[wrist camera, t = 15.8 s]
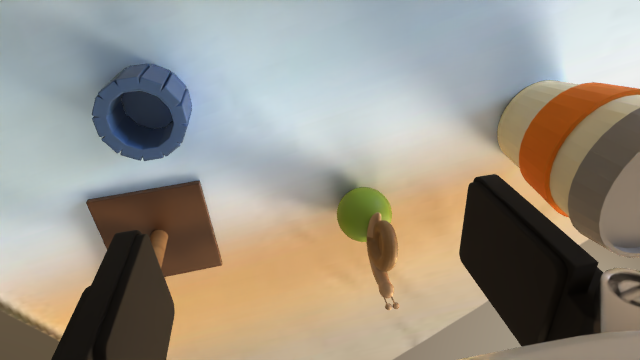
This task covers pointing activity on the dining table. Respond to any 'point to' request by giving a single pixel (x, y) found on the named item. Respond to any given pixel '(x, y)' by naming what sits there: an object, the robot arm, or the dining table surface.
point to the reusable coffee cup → (581, 155)
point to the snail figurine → (371, 232)
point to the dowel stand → (163, 224)
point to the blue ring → (124, 130)
